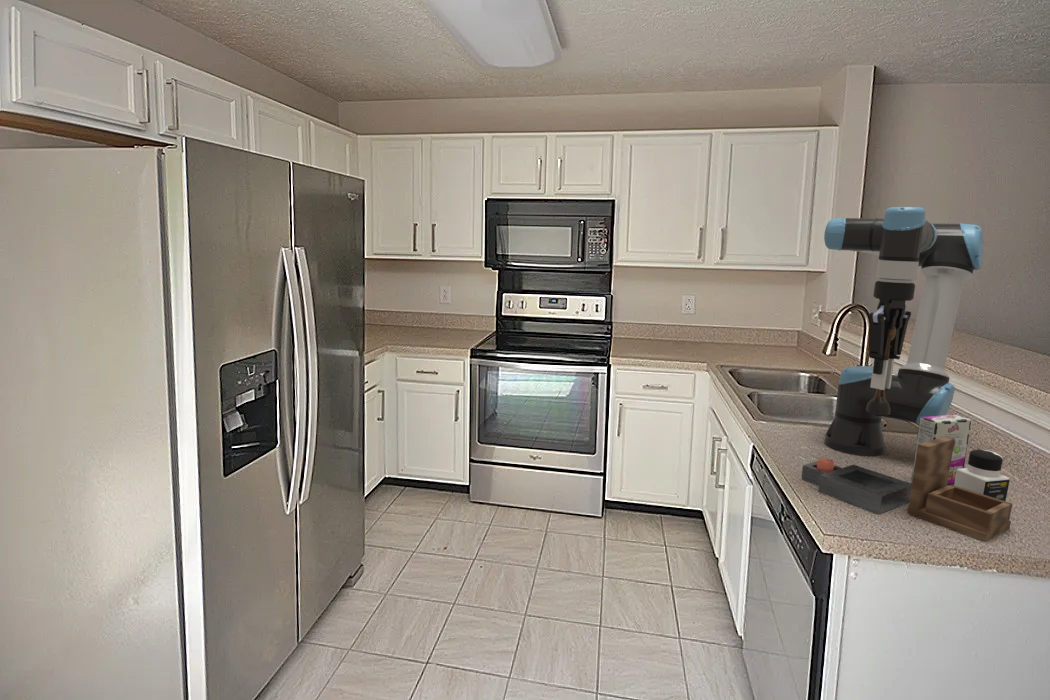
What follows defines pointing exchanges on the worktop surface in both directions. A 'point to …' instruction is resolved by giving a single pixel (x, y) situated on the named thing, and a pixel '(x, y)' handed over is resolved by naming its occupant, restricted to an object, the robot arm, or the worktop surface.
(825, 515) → the worktop surface
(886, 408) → the wooden tabletop sculpture
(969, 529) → the walnut rack
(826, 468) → the release plunger
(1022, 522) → the worktop surface
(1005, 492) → the medicine bottle
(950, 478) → the candy bar box
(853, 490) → the socket block
